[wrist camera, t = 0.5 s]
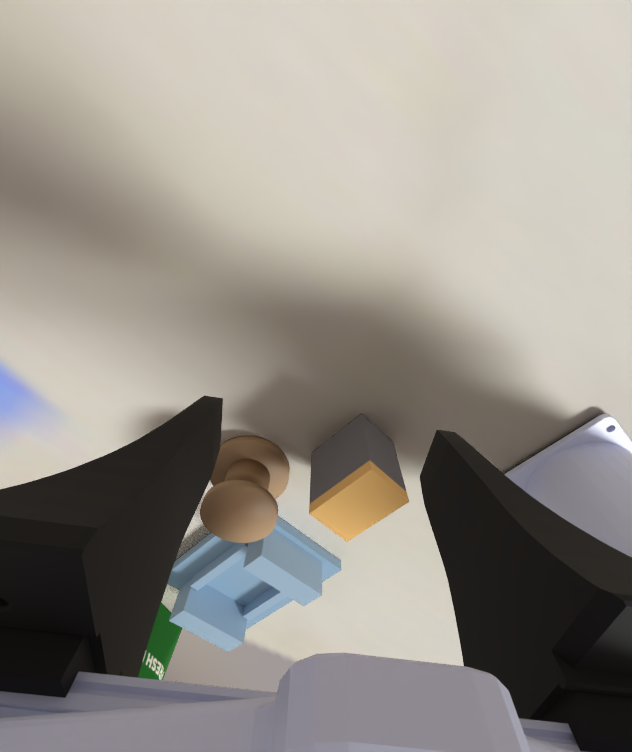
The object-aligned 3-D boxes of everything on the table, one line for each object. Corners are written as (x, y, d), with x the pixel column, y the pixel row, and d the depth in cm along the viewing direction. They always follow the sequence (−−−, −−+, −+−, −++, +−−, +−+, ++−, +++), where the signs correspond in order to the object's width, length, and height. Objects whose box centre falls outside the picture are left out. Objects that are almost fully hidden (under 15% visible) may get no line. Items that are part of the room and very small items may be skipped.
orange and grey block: (392, 441, 24) (409, 501, 20) (342, 477, 26) (347, 541, 21) (361, 413, 24) (371, 469, 19) (311, 452, 25) (309, 513, 20)
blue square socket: (340, 560, 30) (342, 603, 27) (249, 618, 33) (241, 662, 30) (253, 499, 27) (245, 539, 24) (163, 569, 30) (146, 612, 27)
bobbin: (305, 468, 26) (302, 517, 22) (254, 507, 27) (243, 559, 23) (246, 421, 24) (232, 466, 20) (196, 467, 26) (174, 515, 22)
